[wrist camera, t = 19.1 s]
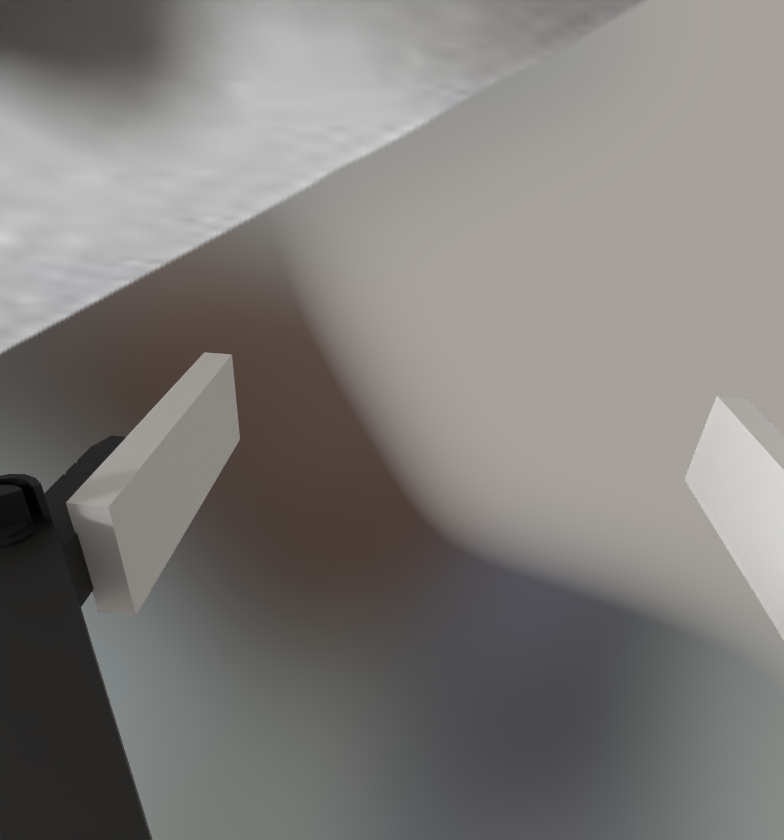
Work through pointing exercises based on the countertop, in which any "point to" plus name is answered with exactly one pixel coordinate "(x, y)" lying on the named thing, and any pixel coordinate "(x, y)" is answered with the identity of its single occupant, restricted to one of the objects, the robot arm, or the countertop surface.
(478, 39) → the countertop surface
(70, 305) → the countertop surface
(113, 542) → the robot arm
